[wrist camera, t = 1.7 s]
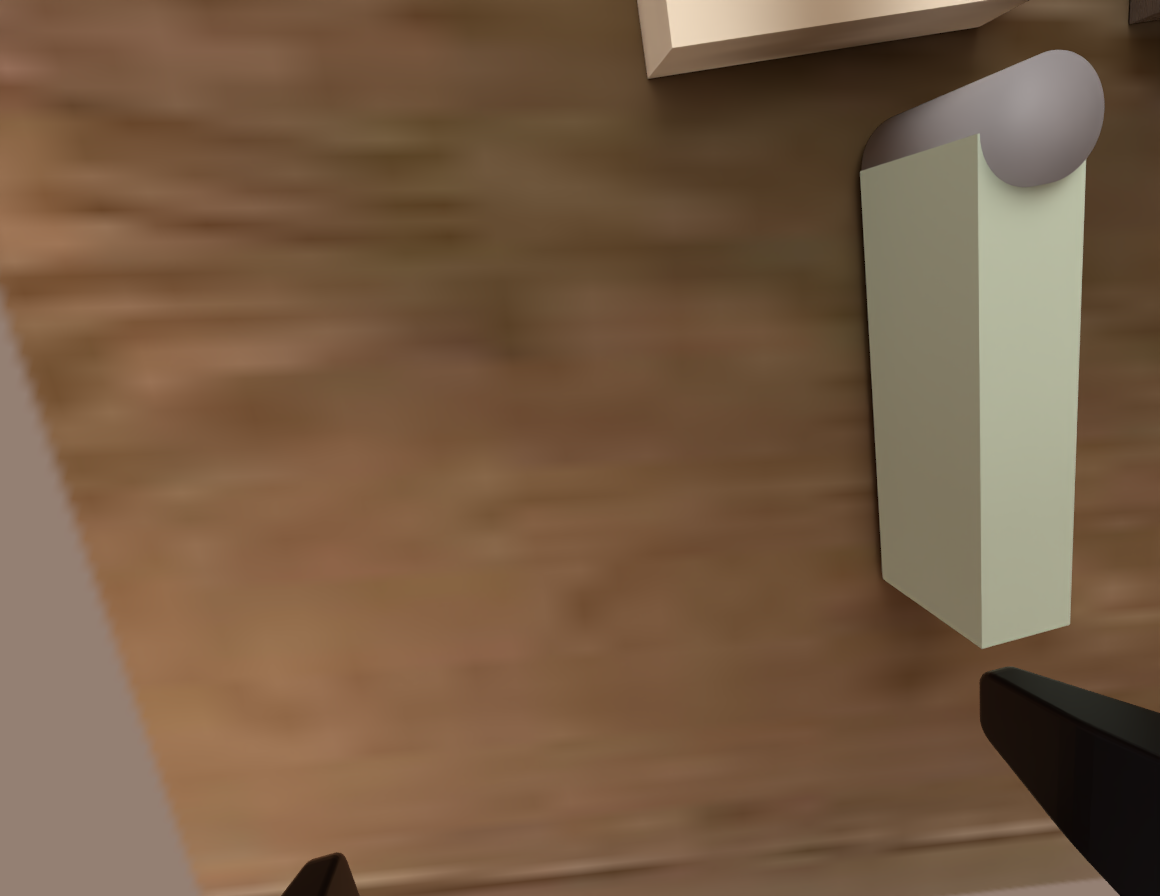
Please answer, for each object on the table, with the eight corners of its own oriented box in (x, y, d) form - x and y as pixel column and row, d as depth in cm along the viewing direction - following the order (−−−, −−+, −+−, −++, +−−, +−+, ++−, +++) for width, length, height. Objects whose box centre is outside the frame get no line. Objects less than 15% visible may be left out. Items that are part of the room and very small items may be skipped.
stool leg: (857, 121, 16) (993, 59, 12) (945, 106, 16) (1109, 41, 12) (882, 578, 19) (994, 657, 15) (954, 560, 20) (1084, 633, 16)
